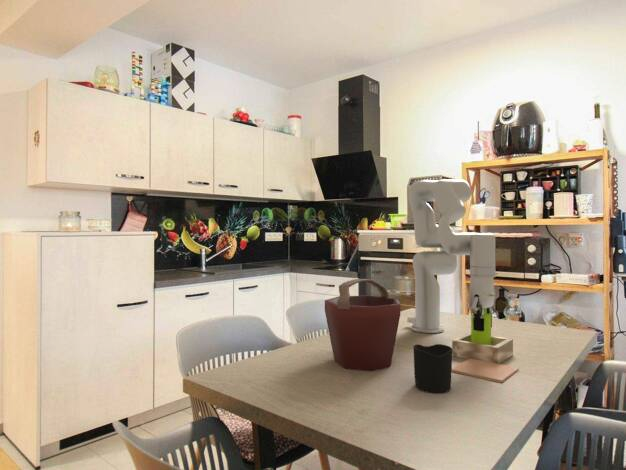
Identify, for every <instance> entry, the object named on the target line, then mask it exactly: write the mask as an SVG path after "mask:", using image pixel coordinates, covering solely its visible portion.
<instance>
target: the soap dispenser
mask: <svg viewBox="0 0 626 470" xmlns="http://www.w3.org/2000/svg"><path fill="white" fill-rule="evenodd" d="M490 296H494V297H495V296H496V295H495V293H494V294H490ZM478 308H481V306H478ZM479 311H480V310H479ZM480 313H481V311H480ZM470 314H471V315H470V316H471V317H470V319H471V320H470V321H471V322H470V323H471V325H470V326H471V327H470V329H471V331H470V333H471V342H473V343H479V344H485V345H491V336H492V327H491V314H489V313H487V308H486V309H484V314H483V318H484V331H476V330H474V329H473V312H472V313H470Z"/></svg>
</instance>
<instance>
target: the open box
mask: <svg viewBox="0 0 626 470" xmlns="http://www.w3.org/2000/svg"><path fill="white" fill-rule="evenodd" d="M451 341H452V342H451V344H452V347H451V348H452V357H456V358H460V359H466V360H468V359H476V360H481V361H486V362H491V363H497V364H501V363H503V362H504V361H506V360H507V359H509V358H511V357H512V356H513V355H514V338H509V337H508V338H507V337H501V336H495V335H491V345H485V344H479V343H473V342H471V332H468V333H465V334H463V335H460V336H458V337H457V338H454V339H452V340H451Z"/></svg>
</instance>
